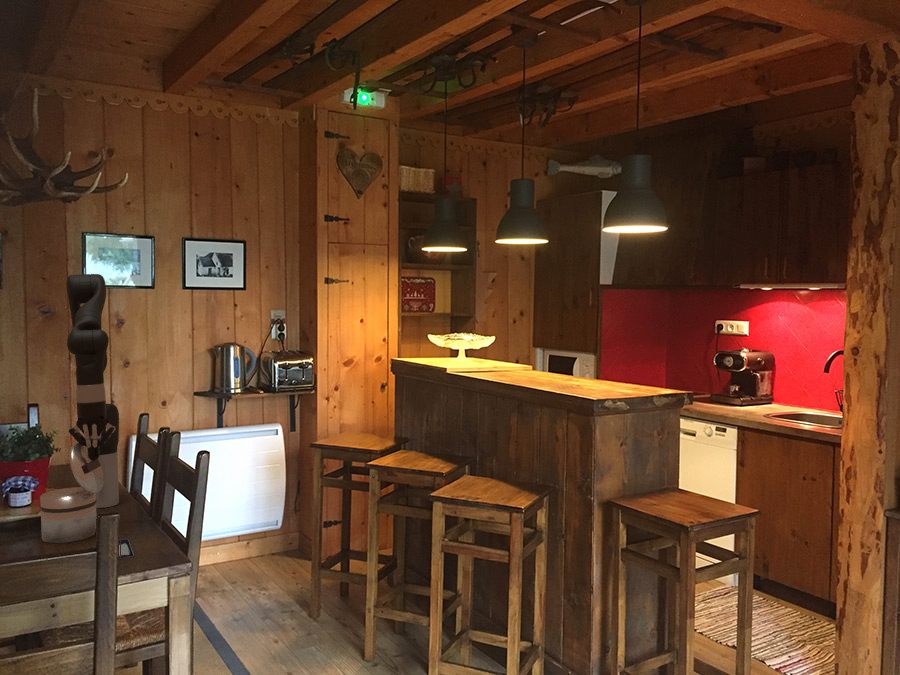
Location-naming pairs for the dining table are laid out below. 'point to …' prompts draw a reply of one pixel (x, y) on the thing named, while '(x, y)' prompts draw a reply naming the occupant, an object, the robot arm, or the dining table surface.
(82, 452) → the lid
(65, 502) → the pot
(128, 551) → the smartphone
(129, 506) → the dining table surface
